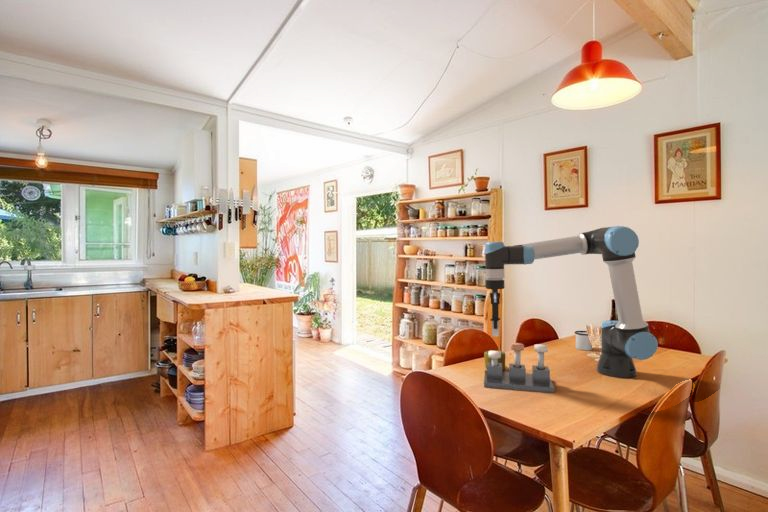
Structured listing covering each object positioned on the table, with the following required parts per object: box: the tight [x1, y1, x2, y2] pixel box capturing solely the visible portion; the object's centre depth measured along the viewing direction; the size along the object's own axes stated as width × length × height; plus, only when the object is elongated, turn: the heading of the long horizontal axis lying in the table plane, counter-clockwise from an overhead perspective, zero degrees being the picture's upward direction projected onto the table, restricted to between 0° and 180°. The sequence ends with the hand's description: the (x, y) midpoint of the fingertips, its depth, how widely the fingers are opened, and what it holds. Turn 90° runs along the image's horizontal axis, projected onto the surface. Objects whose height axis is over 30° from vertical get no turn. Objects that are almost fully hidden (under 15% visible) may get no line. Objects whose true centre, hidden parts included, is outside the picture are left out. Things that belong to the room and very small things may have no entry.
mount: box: [483, 362, 555, 394], centre depth 165 cm, size 26×16×7 cm, turn 75°
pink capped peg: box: [510, 342, 525, 368], centre depth 165 cm, size 5×5×10 cm
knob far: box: [488, 350, 501, 366], centre depth 167 cm, size 5×5×10 cm
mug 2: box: [574, 330, 593, 352], centre depth 221 cm, size 12×10×9 cm
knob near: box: [533, 343, 549, 369], centre depth 163 cm, size 5×5×10 cm
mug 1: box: [483, 349, 506, 371], centre depth 185 cm, size 12×10×10 cm
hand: (495, 336), depth 167 cm, fingers closed
